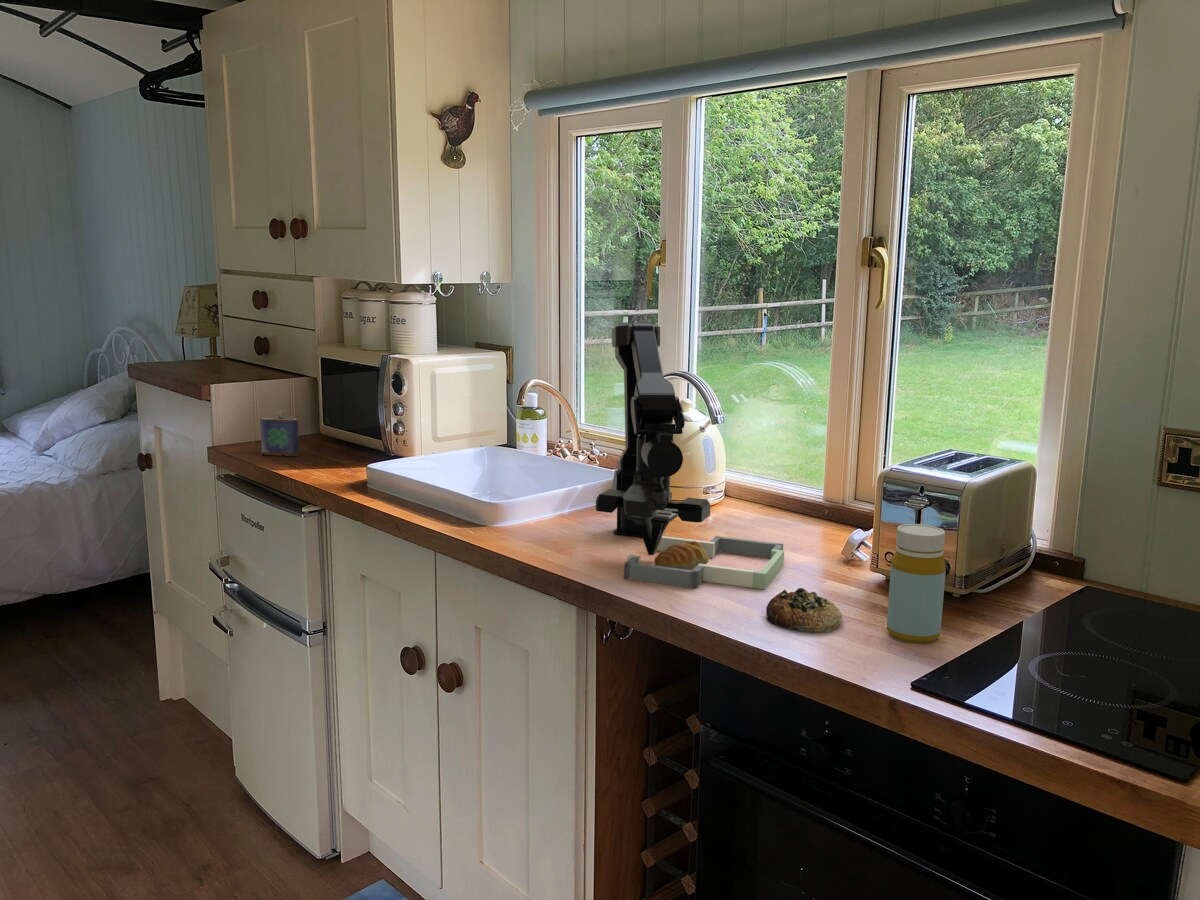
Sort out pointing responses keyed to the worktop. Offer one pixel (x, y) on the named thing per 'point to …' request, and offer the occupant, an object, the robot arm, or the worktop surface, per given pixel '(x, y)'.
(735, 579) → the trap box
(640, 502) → the robot arm
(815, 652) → the worktop surface
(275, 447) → the flask
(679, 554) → the pastry
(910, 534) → the bottle
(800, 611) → the bread roll
